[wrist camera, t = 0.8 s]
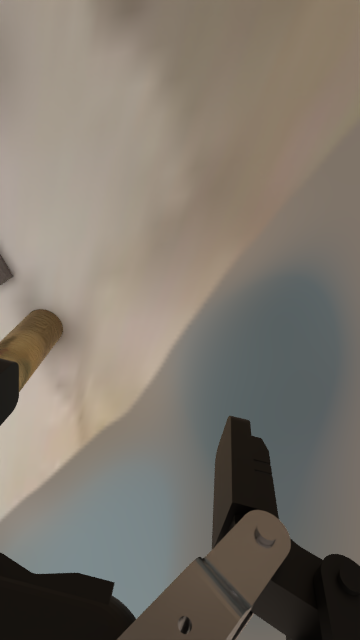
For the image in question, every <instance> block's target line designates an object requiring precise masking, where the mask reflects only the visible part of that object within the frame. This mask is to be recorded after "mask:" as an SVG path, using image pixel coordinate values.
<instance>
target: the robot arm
mask: <svg viewBox="0 0 360 640" xmlns="http://www.w3.org/2000/svg"><path fill="white" fill-rule="evenodd" d="M18 398H19V365H18V363H17V362H14V361H9V360H5V359H1V358H0V426H1V424H2V423H3V422H4V421H5V420H6V419H7V417H8V416H9V415H10V414H11V413H12V412H13V410H14V409H15V407H16V405H17V402H18ZM213 507H214V508H213V532H212V533H213V534H212V550H211V551H210V552H209V554H207V556H205V557H204V558H203V559H202V558H201V557H198V558H196V559H195V560H194V561H193V562H192V563H191V564H190V565H189V566H188V567H187V568H186V569H185V570H184V571H183V572H182V573H181V574H180V575H179V576H178V577H177V578H176V579H175V580H174V581H173V582H172V583H171V584H170V585H169V586H168V587H167V588H166V589H165V590H164V592H162V593H161V595H160V596H159V597H158V598H157V599H156V600H155V601H154V602H153V603H152V604H151V605H150V606H149V607H148V608H147V609H146V610H145V611H144V612H143V613H142V614H141V615H140V616H139V617H138V618H137V619H136V618H135V617H134V615H133V614H132V613H131V612H130V610H129V609H128V608H127V607H126V606H125V605H124V604H122V602H120V601H119V600H118V599H116V598H115V597H113V596H112V592H113V587H114V582H110V581H107V580H103V579H99V578H95V577H91V576H88V575H83V574H80V573H57V574H34V573H31V572H30V571H28V570H27V569H25V568H24V567H22V566H20V565H19V564H17V563H16V562H14V561H13V560H11V559H10V558H8V557H7V556H5V555H4V554H2V553H0V640H236V639H237V638H238V636H239V635H240V633H241V632H242V631H243V629H244V628H245V626H246V625H247V623H248V622H249V620H250V619H251V617H252V616H253V614H256V615H257V616H259V617H260V618H261V619H263V620H264V621H266V622H267V623H269V624H270V625H272V626H273V627H275V628H276V629H277V630H279V631H280V632H282V633H284V634H285V635H286V640H360V566H359V565H358V564H356V563H355V562H354V561H352V560H351V559H349V558H347V557H345V556H343V555H339V554H331V555H328V556H326V557H325V558H324V560H322V559H320V558H318V557H317V556H315V555H313V554H311V553H310V552H308V551H306V550H305V549H303V548H301V547H300V546H298V545H297V544H296V543H295V542H294V541H292V539H290V536H289V533H288V531H287V529H286V528H285V526H284V525H283V524H282V522H280V520H279V517H278V511H277V505H276V498H275V491H274V484H273V478H272V472H271V466H270V457H269V451H268V449H267V447H266V446H265V444H264V442H263V440H262V439H261V438H258V437H254V436H251V428H250V421H249V420H246V419H241V418H237V417H233V416H229V417H228V419H227V422H226V425H225V428H224V431H223V434H222V436H221V439H220V442H219V446H218V449H217V454H216V459H215V479H214V505H213Z"/></svg>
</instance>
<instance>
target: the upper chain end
mask: <svg viewBox="0 0 360 640" xmlns="http://www.w3.org/2000/svg"><path fill="white" fill-rule="evenodd" d="M12 277H13V275H12V273H11V271H10V270H9V268H8V266H7V265H6V263H5V261H4V260H3V258H2V257H1V255H0V285H2V284H3V283H5V282H6V281H7V280H9V279H10V278H12Z"/></svg>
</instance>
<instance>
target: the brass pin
mask: <svg viewBox="0 0 360 640" xmlns="http://www.w3.org/2000/svg"><path fill="white" fill-rule="evenodd" d="M62 332H63V327H62V323H61V321H60V320H59V318H58V317H57V316H56V315H55V314H53V313H51V312H49V311H47V310H34V311H32V312H31V313H30V314H28V315H27V316H26V317H25V318H24V319H23V320H22V321H21V322H20V323H19V324H18V325H17V326H16V327H15V328H14V329H13V330H12V331H11V332H10V333H9V334H8V335H7V336H6V337H5V338H4V339H3V340H2V341H0V358H1V359H5V360H9V361H14V362H17V363H18V365H19V392H20V390H21V389H22V388H23V386H24V385H25V384H26V382H27V381H28V380H29V378H30V377H31V376H32V374H33V373H34V372H35V370H36V369H37V368H38V366H39V365H40V364H41V362H42V361H43V360H44V358H45V357H46V356H47V354H48V353H49V352H50V350H51V349H52V348H53V346H54V345H55V344H56V342H57V341H58V340H59V338H60V337H61V335H62Z"/></svg>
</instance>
